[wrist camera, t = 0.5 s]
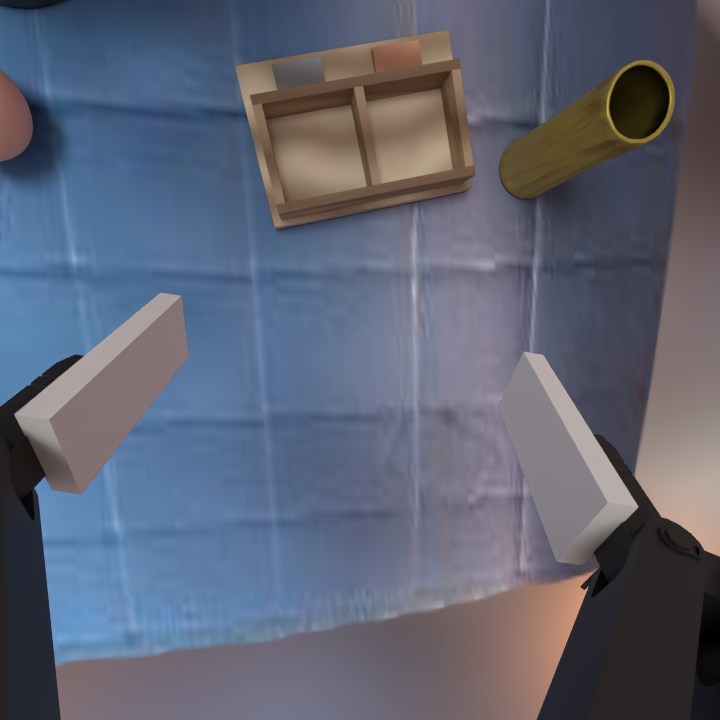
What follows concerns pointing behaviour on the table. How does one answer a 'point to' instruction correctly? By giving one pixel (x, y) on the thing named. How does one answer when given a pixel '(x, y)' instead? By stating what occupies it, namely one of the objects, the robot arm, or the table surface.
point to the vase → (591, 130)
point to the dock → (358, 127)
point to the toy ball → (13, 120)
